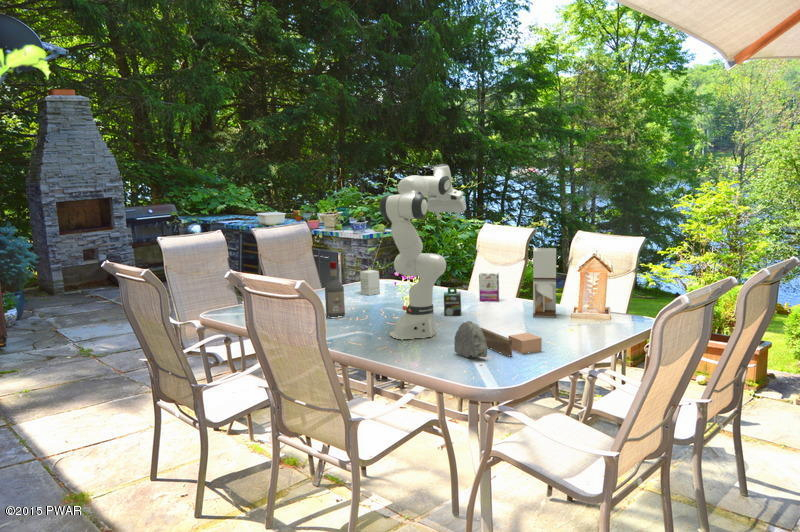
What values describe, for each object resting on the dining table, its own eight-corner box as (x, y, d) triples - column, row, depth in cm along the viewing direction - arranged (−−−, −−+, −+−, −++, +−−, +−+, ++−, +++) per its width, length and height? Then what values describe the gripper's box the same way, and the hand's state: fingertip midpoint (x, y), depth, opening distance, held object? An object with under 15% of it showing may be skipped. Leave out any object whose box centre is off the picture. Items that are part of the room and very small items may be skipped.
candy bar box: (499, 300, 372) (499, 273, 369) (498, 302, 367) (498, 274, 365) (480, 299, 375) (480, 272, 373) (479, 301, 370) (478, 274, 368)
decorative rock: (452, 353, 268) (452, 319, 266) (465, 350, 271) (464, 317, 269) (477, 362, 254) (476, 326, 252) (489, 359, 258) (489, 324, 255)
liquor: (346, 317, 341) (343, 262, 336) (329, 319, 338) (327, 264, 333) (341, 313, 349) (338, 260, 345) (325, 315, 346) (322, 261, 341)
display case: (533, 317, 327) (533, 251, 322) (533, 313, 337) (533, 248, 332) (555, 318, 324) (556, 251, 319) (555, 313, 334) (556, 248, 329)
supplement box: (371, 292, 409) (370, 269, 407) (380, 293, 402) (379, 270, 400) (360, 294, 404) (359, 271, 401) (368, 296, 397) (368, 272, 394)
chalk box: (461, 312, 345) (460, 285, 342) (461, 315, 336) (460, 288, 333) (444, 312, 346) (443, 285, 343) (443, 316, 337) (443, 288, 334)
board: (507, 356, 261) (507, 340, 260) (477, 343, 282) (477, 328, 281) (511, 356, 262) (511, 339, 261) (481, 342, 283) (481, 327, 282)
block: (522, 354, 264) (522, 341, 263) (508, 349, 273) (508, 335, 272) (541, 351, 268) (541, 337, 267) (527, 345, 277) (527, 332, 276)
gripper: (424, 196, 324) (427, 221, 330) (461, 196, 315) (464, 222, 321) (428, 192, 329) (432, 216, 334) (465, 192, 320) (468, 217, 325)
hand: (448, 219), depth 327 cm, fingers open, 8 cm apart
